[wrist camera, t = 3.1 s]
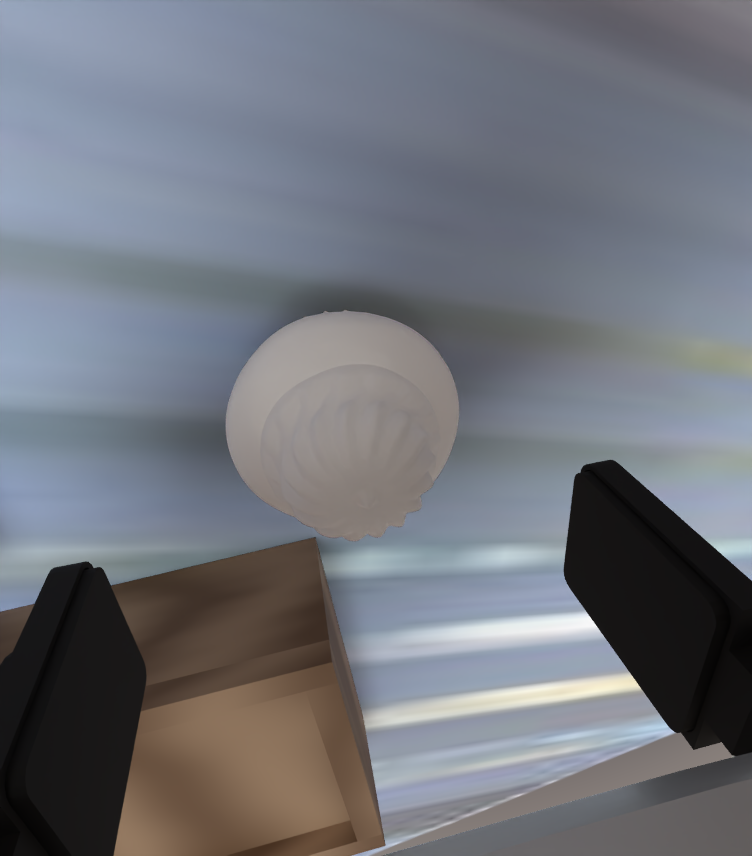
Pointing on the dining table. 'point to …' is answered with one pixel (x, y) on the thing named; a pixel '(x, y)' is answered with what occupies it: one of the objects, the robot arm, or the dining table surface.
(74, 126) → the dining table surface
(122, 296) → the dining table surface
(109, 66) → the dining table surface
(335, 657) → the brown wooden box
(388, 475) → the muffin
